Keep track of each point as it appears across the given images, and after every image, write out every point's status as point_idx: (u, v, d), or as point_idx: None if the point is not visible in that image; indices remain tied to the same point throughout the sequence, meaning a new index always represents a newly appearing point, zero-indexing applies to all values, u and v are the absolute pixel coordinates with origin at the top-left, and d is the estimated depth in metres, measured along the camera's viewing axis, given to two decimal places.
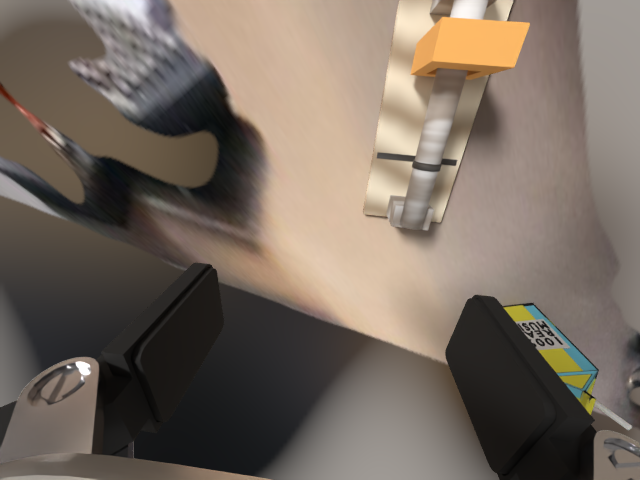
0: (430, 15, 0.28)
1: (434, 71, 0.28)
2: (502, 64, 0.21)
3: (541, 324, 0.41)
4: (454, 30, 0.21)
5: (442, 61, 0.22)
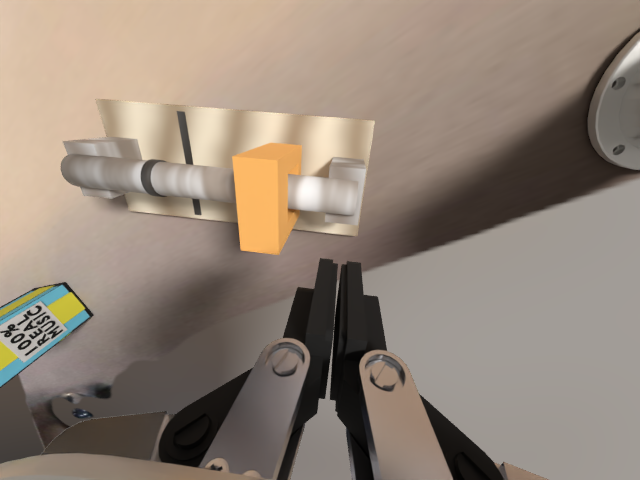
0: (332, 158, 0.25)
1: None
2: (241, 238, 0.19)
3: (55, 330, 0.37)
4: (265, 179, 0.16)
5: (234, 170, 0.17)
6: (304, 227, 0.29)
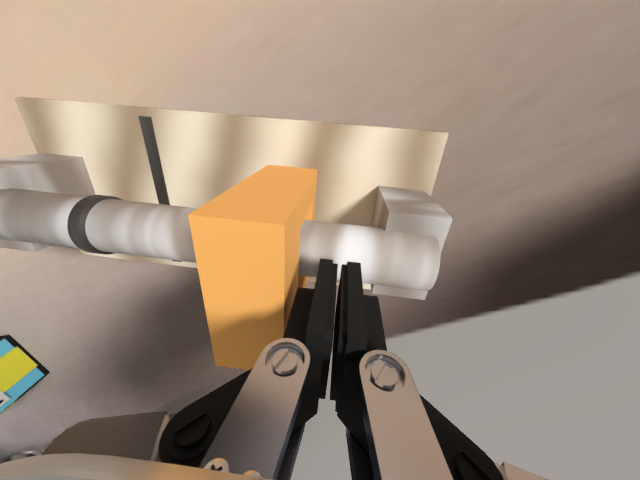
0: (376, 187, 0.16)
1: None
2: (215, 349, 0.10)
3: None
4: (259, 258, 0.08)
5: (195, 240, 0.08)
6: None
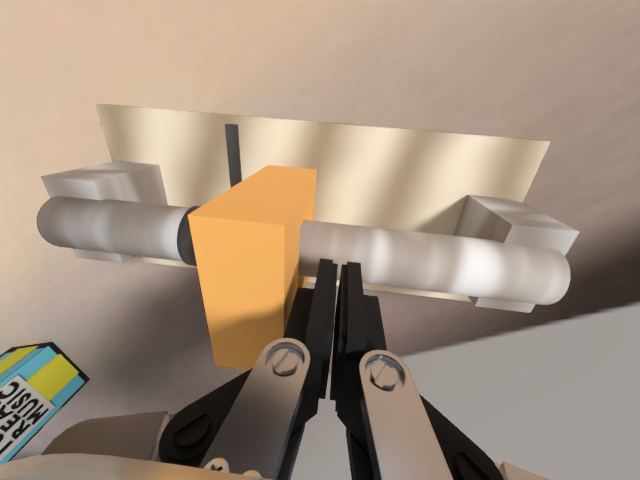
0: (465, 196, 0.16)
1: None
2: (215, 349, 0.10)
3: (38, 412, 0.27)
4: (259, 258, 0.08)
5: (195, 240, 0.08)
6: (399, 289, 0.20)
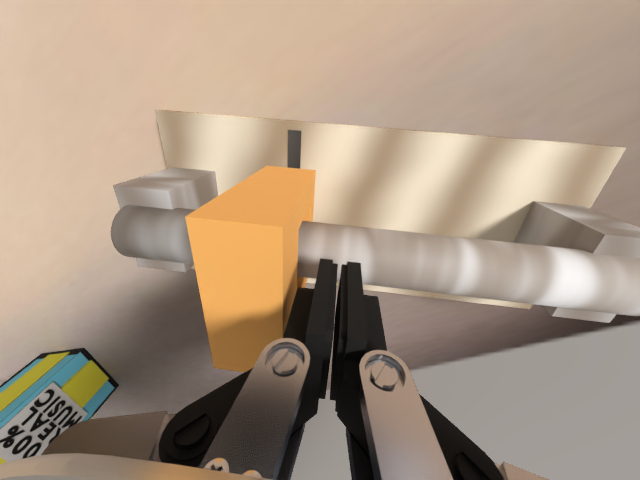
0: (530, 203, 0.16)
1: None
2: (214, 351, 0.10)
3: (72, 419, 0.27)
4: (256, 260, 0.08)
5: (193, 242, 0.08)
6: (451, 296, 0.20)
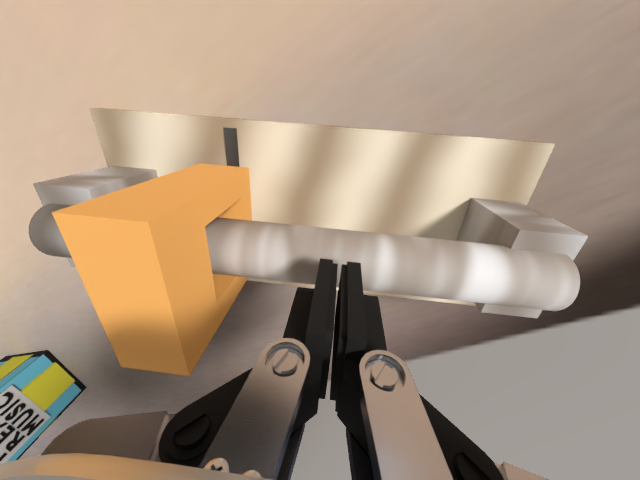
0: (468, 200, 0.16)
1: None
2: (116, 350, 0.10)
3: (33, 423, 0.27)
4: (132, 256, 0.08)
5: (68, 238, 0.08)
6: (401, 293, 0.20)
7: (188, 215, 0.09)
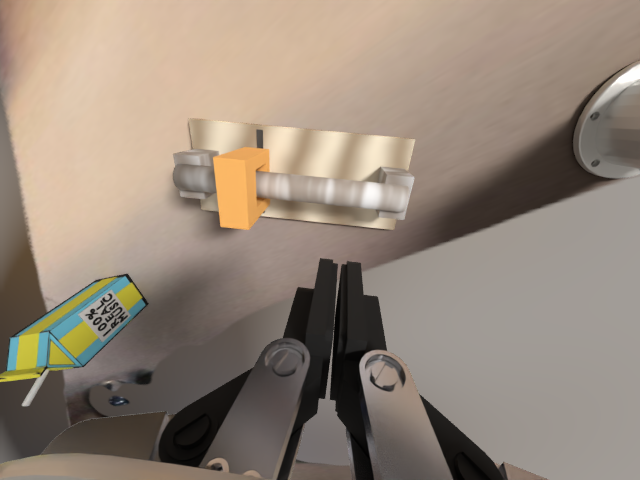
0: (379, 167, 0.32)
1: None
2: (220, 217, 0.25)
3: (122, 316, 0.42)
4: (237, 173, 0.23)
5: (214, 167, 0.23)
6: (351, 223, 0.35)
7: (252, 162, 0.25)
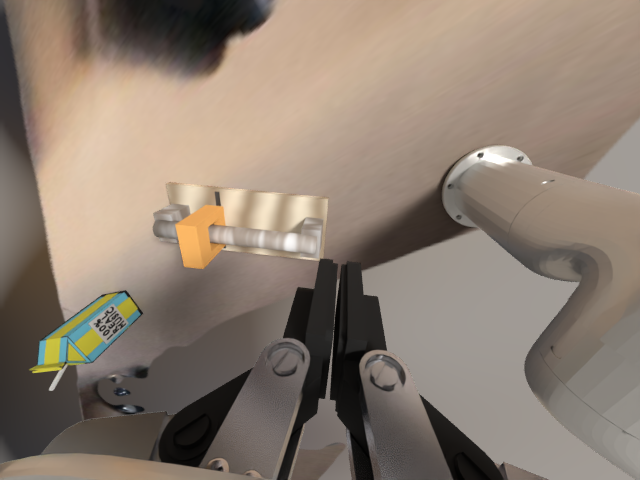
0: (305, 217, 0.43)
1: None
2: (183, 261, 0.37)
3: (122, 324, 0.54)
4: (191, 234, 0.35)
5: (177, 230, 0.35)
6: (290, 255, 0.47)
7: (203, 224, 0.36)
